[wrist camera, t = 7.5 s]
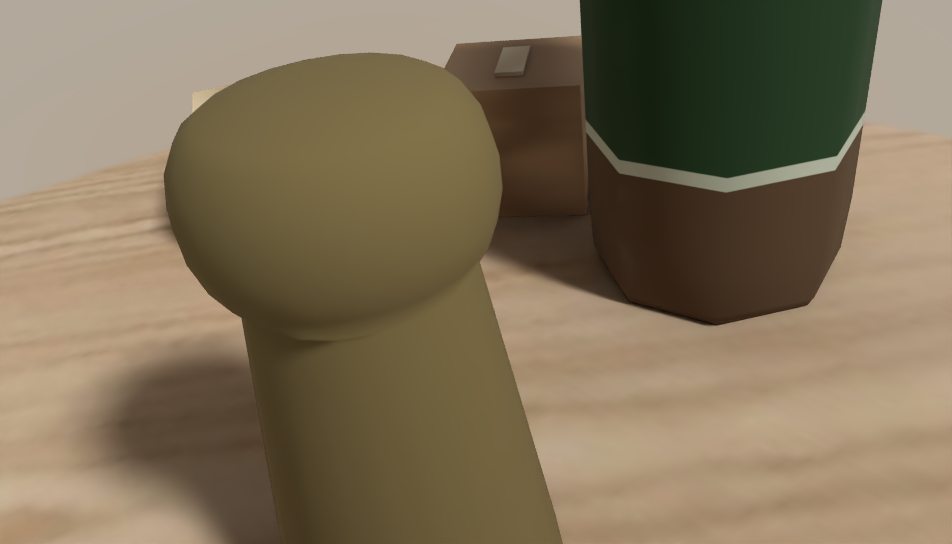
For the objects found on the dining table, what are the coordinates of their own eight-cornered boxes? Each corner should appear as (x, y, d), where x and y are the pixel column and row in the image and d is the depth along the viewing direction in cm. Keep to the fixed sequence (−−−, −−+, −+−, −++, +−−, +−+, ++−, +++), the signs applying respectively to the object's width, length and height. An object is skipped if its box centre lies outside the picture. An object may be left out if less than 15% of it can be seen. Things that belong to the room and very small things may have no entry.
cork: (280, 495, 20) (120, 61, 14) (514, 427, 21) (458, -6, 15) (304, 734, 15) (74, 221, 9) (609, 630, 16) (581, 106, 10)
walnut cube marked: (447, 220, 31) (427, 89, 28) (468, 160, 35) (452, 40, 32) (586, 216, 30) (579, 80, 27) (591, 155, 34) (585, 31, 31)
